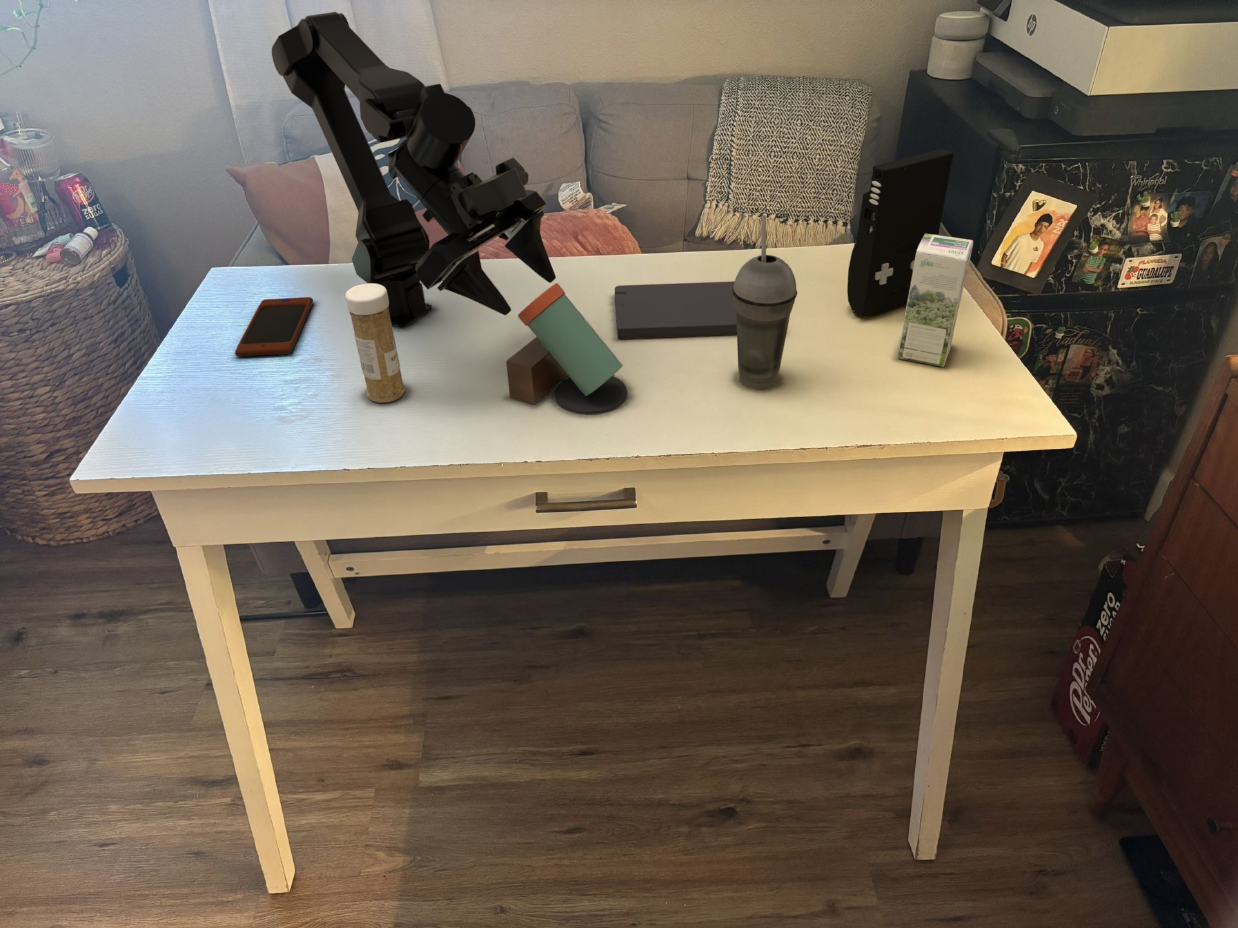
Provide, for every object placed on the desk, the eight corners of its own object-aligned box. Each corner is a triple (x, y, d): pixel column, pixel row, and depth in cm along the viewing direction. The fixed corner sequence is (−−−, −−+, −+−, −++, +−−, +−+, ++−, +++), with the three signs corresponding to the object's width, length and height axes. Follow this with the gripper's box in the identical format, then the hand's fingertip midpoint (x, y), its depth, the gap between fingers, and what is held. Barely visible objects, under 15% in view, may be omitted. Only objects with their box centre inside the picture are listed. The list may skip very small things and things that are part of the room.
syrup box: (951, 347, 117) (975, 237, 108) (943, 369, 113) (967, 257, 104) (905, 338, 119) (925, 230, 110) (896, 360, 115) (915, 249, 106)
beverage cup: (749, 401, 108) (761, 237, 96) (715, 373, 113) (723, 214, 101) (801, 385, 110) (818, 223, 98) (765, 358, 116) (778, 202, 104)
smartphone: (312, 295, 130) (289, 348, 118) (314, 301, 131) (291, 354, 119) (261, 298, 130) (233, 351, 118) (263, 304, 130) (235, 357, 118)
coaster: (540, 403, 108) (540, 400, 108) (578, 369, 114) (578, 366, 114) (604, 421, 105) (604, 418, 105) (640, 386, 111) (640, 383, 111)
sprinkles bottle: (411, 396, 110) (392, 292, 102) (375, 408, 108) (353, 303, 100) (396, 380, 113) (377, 278, 105) (360, 391, 111) (338, 288, 103)
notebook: (617, 339, 120) (781, 333, 121) (617, 328, 119) (782, 322, 120) (614, 295, 131) (765, 290, 131) (614, 285, 130) (766, 279, 130)
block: (509, 397, 110) (505, 360, 107) (554, 359, 117) (552, 324, 114) (534, 405, 108) (531, 367, 105) (578, 366, 115) (576, 330, 112)
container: (515, 385, 111) (505, 289, 103) (542, 363, 115) (535, 269, 108) (606, 411, 106) (603, 312, 98) (631, 387, 110) (629, 290, 103)
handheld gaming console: (863, 322, 123) (885, 172, 111) (840, 309, 126) (859, 161, 114) (930, 300, 127) (958, 153, 116) (906, 287, 131) (931, 143, 119)
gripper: (420, 168, 92) (523, 293, 94) (525, 118, 105) (614, 228, 107) (373, 231, 100) (469, 344, 102) (477, 177, 113) (560, 278, 115)
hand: (531, 296), depth 106 cm, fingers open, 9 cm apart
